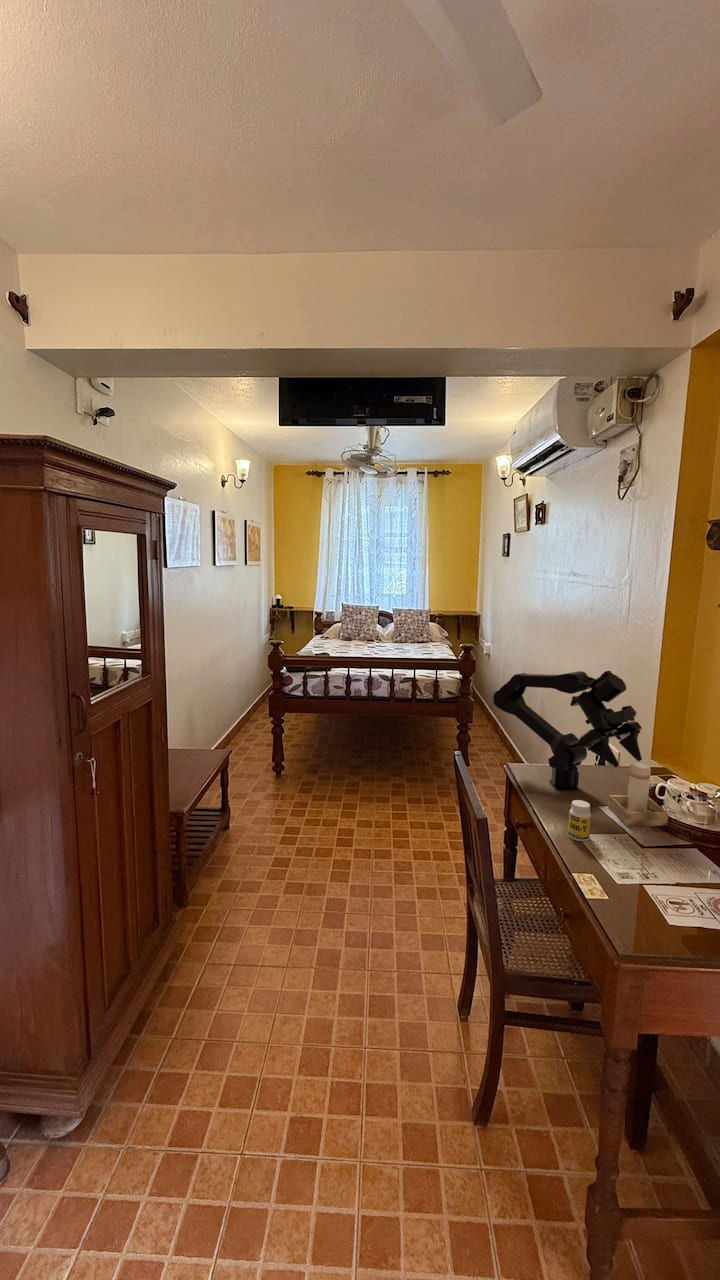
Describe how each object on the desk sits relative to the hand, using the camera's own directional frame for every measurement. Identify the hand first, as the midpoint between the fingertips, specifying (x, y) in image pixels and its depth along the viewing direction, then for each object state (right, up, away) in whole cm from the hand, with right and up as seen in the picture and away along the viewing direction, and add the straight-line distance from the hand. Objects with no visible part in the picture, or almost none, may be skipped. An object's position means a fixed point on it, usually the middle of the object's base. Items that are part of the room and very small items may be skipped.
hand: (629, 763), depth 142 cm
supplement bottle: (-18, -15, -11) cm, 26 cm away
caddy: (+1, -14, -1) cm, 14 cm away
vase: (+1, -13, -1) cm, 13 cm away
